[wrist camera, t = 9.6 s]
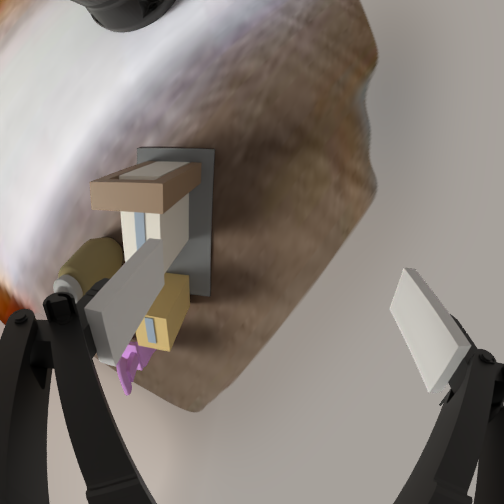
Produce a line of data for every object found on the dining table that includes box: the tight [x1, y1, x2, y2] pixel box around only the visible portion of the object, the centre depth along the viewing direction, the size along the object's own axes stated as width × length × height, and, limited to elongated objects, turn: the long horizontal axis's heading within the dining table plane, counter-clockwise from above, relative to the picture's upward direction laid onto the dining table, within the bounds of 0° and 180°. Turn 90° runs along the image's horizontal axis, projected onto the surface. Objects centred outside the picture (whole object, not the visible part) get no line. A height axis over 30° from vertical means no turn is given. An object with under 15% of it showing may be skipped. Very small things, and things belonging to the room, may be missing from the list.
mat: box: [137, 148, 215, 297], centre depth 45 cm, size 24×12×1 cm, turn 176°
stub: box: [136, 273, 190, 351], centre depth 44 cm, size 6×5×12 cm
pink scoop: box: [117, 342, 157, 395], centre depth 48 cm, size 8×9×15 cm
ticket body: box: [90, 161, 202, 274], centre depth 36 cm, size 12×8×16 cm
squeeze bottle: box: [53, 237, 123, 303], centre depth 40 cm, size 8×8×18 cm
